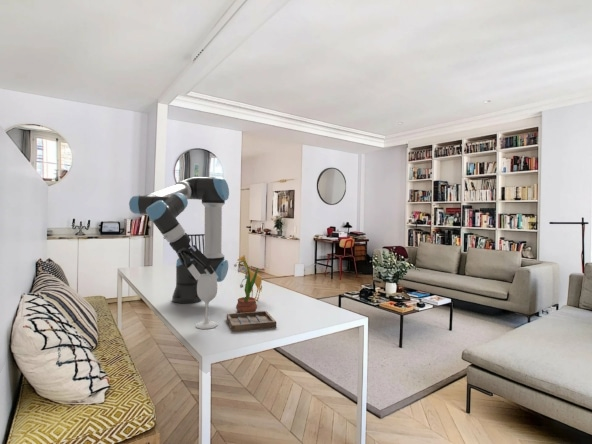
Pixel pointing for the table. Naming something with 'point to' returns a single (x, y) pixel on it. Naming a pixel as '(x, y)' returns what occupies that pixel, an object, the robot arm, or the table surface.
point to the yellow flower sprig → (257, 281)
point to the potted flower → (246, 291)
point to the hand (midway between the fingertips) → (207, 278)
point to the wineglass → (206, 297)
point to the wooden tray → (250, 321)
